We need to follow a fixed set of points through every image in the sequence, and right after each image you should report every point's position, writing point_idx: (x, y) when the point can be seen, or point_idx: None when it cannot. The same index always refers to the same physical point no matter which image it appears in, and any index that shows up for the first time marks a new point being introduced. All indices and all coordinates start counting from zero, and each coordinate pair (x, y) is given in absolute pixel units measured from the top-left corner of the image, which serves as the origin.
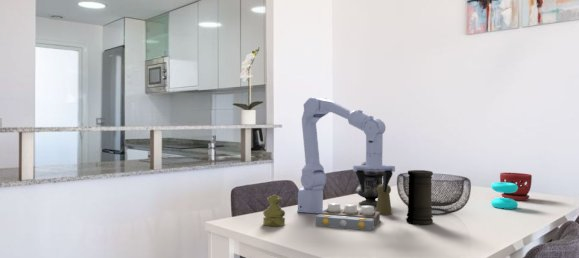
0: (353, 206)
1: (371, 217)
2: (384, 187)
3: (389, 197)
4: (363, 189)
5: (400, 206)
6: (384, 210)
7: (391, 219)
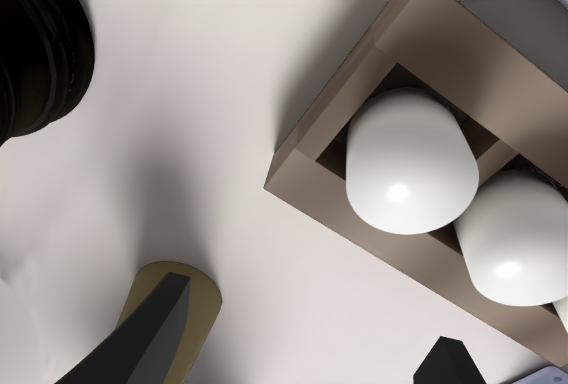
0: (543, 223)
1: (455, 2)
2: (166, 325)
3: None
4: (466, 367)
5: (53, 373)
6: None
7: (181, 160)
